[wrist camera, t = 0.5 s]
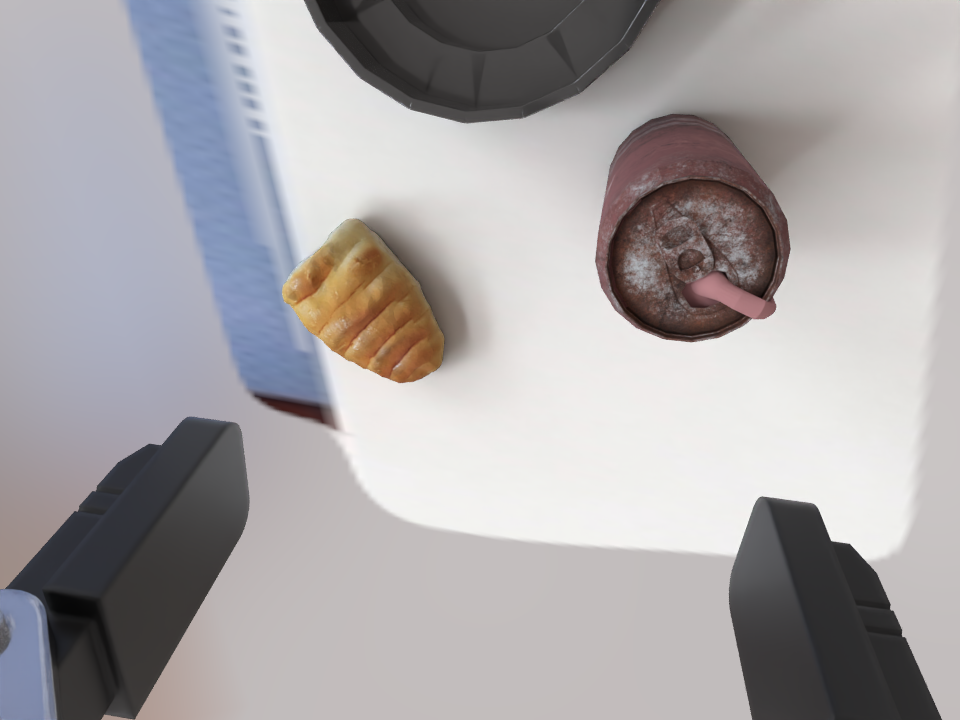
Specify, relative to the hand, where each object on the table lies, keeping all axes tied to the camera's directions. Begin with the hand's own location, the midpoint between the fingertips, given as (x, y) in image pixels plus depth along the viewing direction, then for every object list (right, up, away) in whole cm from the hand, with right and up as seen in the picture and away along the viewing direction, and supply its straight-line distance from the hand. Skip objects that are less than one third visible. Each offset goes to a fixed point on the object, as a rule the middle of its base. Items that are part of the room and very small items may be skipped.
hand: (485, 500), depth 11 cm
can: (+9, +11, +24) cm, 28 cm away
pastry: (-6, +6, +30) cm, 31 cm away
